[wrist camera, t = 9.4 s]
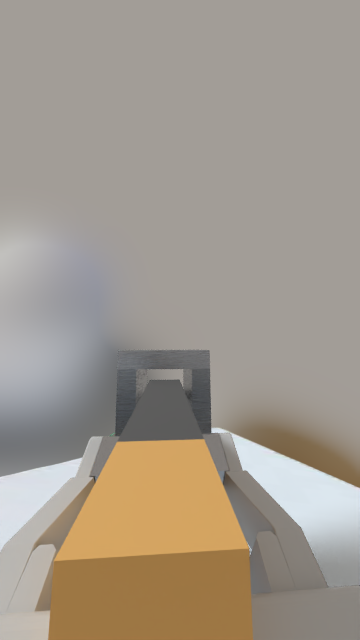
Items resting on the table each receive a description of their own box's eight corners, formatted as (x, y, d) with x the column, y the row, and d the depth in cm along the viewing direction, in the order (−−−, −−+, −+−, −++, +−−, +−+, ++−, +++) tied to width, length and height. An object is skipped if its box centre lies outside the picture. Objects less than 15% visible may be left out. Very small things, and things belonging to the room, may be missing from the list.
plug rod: (34, 828, 3) (53, 560, 3) (149, 411, 20) (150, 380, 21) (259, 794, 3) (249, 548, 3) (179, 410, 21) (179, 379, 21)
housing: (104, 722, 18) (118, 350, 22) (129, 573, 30) (135, 349, 34) (217, 709, 19) (209, 350, 23) (197, 568, 30) (195, 349, 35)
